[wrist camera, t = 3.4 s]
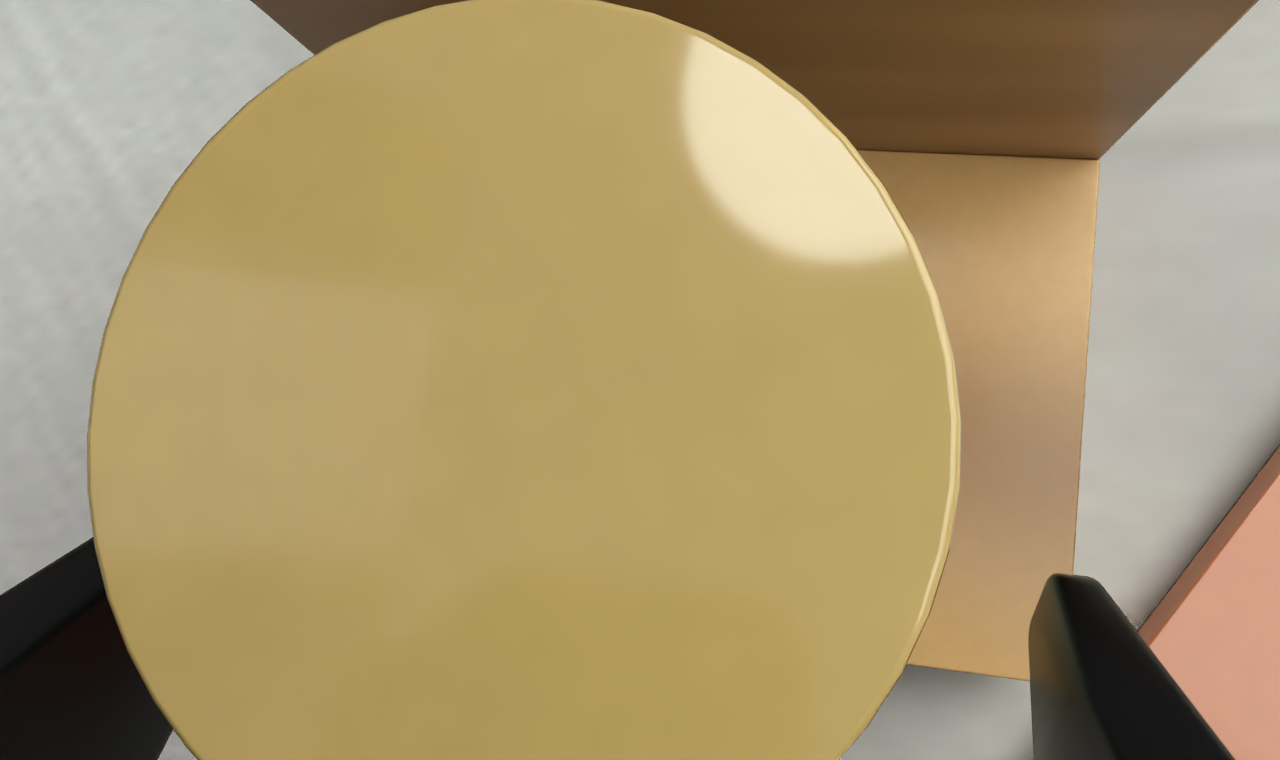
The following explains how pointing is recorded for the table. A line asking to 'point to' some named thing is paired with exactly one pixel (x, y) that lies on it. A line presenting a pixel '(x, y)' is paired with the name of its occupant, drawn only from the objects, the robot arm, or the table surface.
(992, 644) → the shelf
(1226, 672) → the trivet
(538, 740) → the jar
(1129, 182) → the table surface
